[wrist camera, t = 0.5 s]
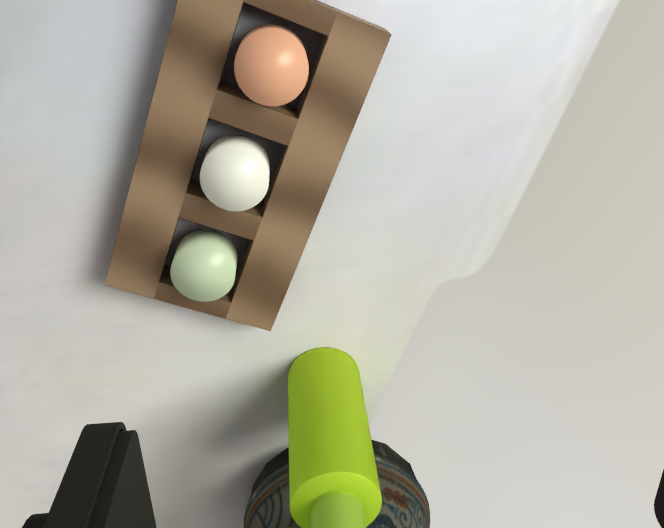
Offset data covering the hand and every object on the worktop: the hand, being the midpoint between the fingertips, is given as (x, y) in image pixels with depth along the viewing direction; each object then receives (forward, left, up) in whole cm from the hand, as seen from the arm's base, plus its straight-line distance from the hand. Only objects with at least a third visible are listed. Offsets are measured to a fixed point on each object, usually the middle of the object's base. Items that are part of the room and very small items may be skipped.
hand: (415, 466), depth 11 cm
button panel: (+7, -3, -33) cm, 34 cm away
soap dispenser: (+23, +9, -33) cm, 41 cm away
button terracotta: (0, -3, -31) cm, 31 cm away
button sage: (+14, -3, -31) cm, 34 cm away
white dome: (+7, -3, -31) cm, 32 cm away
